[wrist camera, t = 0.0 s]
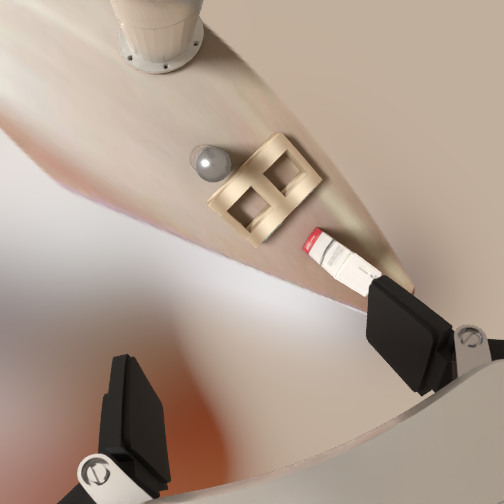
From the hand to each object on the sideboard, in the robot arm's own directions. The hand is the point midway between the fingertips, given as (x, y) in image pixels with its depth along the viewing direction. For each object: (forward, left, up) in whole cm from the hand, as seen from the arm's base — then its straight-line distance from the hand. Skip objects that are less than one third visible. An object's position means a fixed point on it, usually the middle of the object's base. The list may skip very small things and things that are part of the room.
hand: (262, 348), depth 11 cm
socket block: (+3, +11, -37) cm, 38 cm away
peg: (-3, +3, -37) cm, 37 cm away
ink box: (+17, +21, -37) cm, 45 cm away
